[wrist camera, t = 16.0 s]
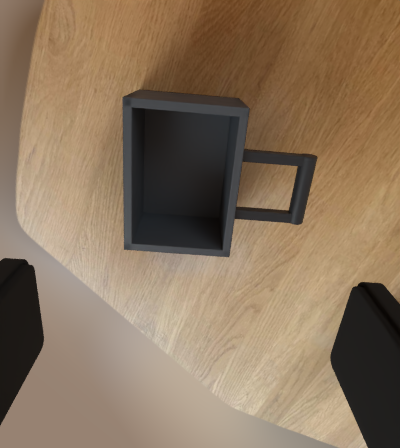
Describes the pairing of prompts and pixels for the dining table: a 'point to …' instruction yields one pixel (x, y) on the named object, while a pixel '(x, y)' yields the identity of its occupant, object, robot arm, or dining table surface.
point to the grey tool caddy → (193, 173)
